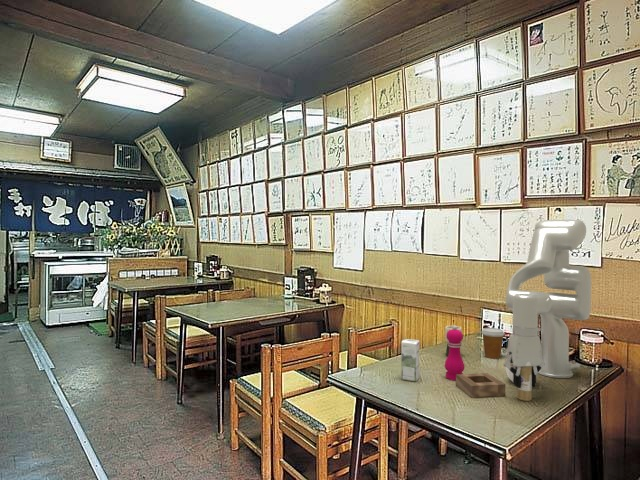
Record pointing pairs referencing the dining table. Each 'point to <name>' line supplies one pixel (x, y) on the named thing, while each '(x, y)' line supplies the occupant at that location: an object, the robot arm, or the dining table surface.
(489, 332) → the disposable coffee cup
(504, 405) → the dining table surface
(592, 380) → the dining table surface
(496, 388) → the socket block
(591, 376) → the dining table surface
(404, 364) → the syrup box
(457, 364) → the pepper mill
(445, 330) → the character mug
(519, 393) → the sprinkles bottle
